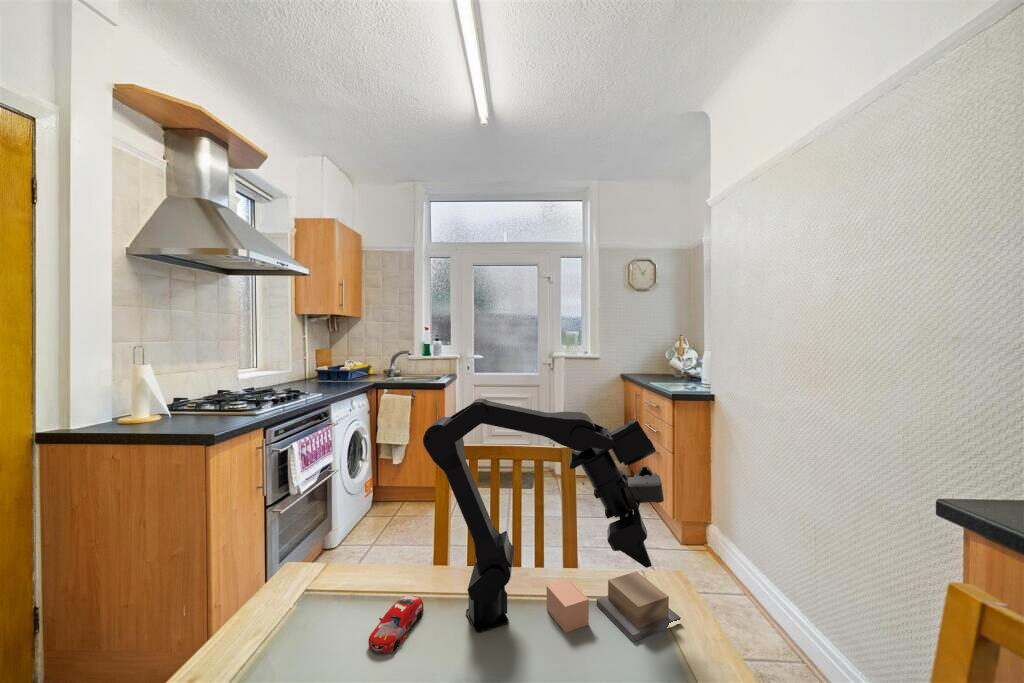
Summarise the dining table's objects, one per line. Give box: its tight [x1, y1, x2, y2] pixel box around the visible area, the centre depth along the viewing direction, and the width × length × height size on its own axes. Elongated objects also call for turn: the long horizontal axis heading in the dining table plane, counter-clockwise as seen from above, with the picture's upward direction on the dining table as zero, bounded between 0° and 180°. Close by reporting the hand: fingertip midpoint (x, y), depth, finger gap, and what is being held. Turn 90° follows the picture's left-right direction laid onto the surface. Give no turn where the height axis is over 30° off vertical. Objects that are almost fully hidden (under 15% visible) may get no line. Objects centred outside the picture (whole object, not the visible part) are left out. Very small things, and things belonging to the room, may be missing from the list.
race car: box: [367, 594, 425, 655], centre depth 84 cm, size 13×5×4 cm, turn 160°
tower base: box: [596, 570, 682, 642], centre depth 87 cm, size 11×11×5 cm
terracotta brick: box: [546, 578, 590, 634], centre depth 87 cm, size 5×7×5 cm
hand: (646, 551), depth 84 cm, fingers open, 9 cm apart
